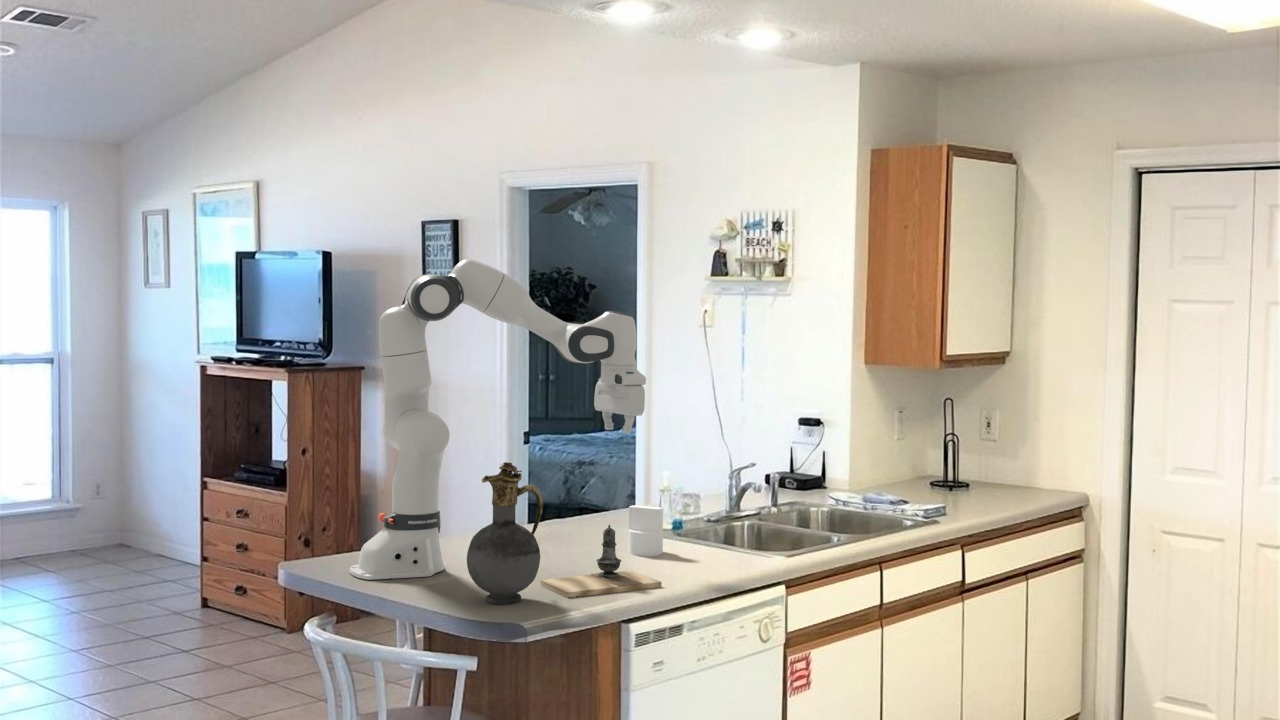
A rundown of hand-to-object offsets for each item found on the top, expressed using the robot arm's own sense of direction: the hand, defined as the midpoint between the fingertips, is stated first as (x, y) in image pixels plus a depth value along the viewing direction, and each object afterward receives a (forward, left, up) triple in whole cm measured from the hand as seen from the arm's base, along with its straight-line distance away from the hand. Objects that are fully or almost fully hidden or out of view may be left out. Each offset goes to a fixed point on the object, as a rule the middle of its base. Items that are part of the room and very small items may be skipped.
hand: (618, 431), depth 311 cm
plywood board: (-16, -22, -33) cm, 43 cm away
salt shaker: (-12, -18, -32) cm, 39 cm away
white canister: (+13, +8, -33) cm, 37 cm away
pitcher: (-40, -24, -33) cm, 57 cm away
